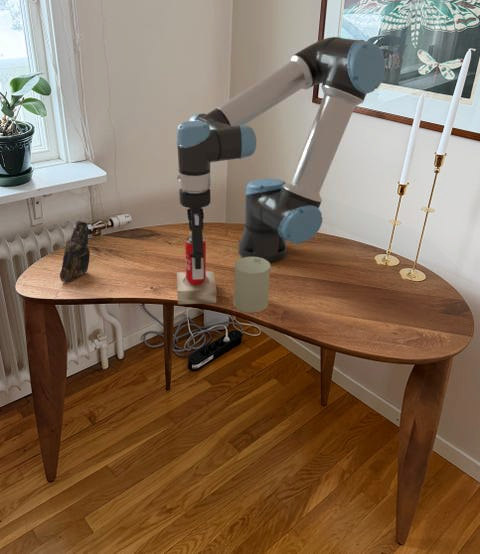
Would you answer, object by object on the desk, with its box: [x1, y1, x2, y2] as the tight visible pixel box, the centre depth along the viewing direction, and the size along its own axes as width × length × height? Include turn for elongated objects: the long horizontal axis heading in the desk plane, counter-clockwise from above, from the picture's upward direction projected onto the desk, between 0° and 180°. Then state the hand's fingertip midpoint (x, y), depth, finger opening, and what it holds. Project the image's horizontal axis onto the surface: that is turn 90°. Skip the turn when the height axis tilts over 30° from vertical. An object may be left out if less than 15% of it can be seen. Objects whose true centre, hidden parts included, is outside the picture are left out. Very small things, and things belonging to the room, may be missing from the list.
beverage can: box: [184, 236, 207, 285], centre depth 135 cm, size 5×5×12 cm
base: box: [176, 270, 217, 305], centre depth 139 cm, size 10×10×4 cm
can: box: [233, 257, 271, 314], centre depth 134 cm, size 9×9×12 cm
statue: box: [59, 220, 91, 283], centre depth 144 cm, size 6×12×15 cm, turn 155°
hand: (196, 265), depth 136 cm, fingers open, 13 cm apart
